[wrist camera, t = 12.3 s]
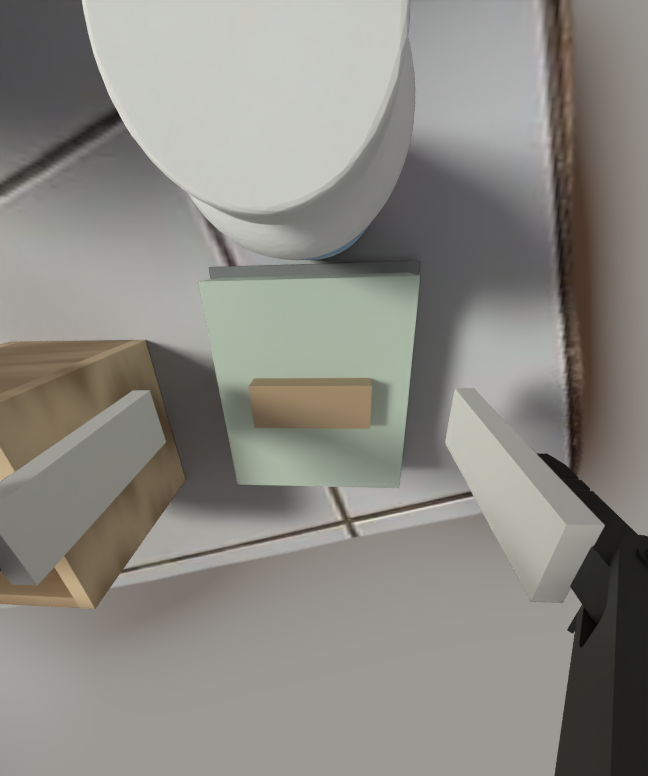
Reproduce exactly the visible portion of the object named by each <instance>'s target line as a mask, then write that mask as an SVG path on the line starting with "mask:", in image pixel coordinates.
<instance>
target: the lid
mask: <svg viewBox="0 0 648 776" xmlns="http://www.w3.org/2000/svg"><path fill="white" fill-rule="evenodd" d="M419 284H420V275H416V274H412V273H375V274H339V275H304V276H269V277H233V278H216V279H210V280H205V281H199V282H198V285H199V290H200V295H201V300H202V305H203V310H204V316H205V321H206V326H207V331H208V336H209V341H210V346H211V351H212V356H213V362H214V367H215V372H216V377H217V382H218V387H219V392H220V397H221V403H222V408H223V413H224V418H225V423H226V428H227V433H228V438H229V443H230V449H231V454H232V459H233V464H234V469H235V474H236V479H237V484H238V485H282V486H329V487H376V488H399V486H400V476H401V466H402V456H403V446H404V436H405V426H406V416H407V405H408V395H409V385H410V375H411V365H412V355H413V345H414V335H415V325H416V314H417V304H418V294H419Z"/></svg>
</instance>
